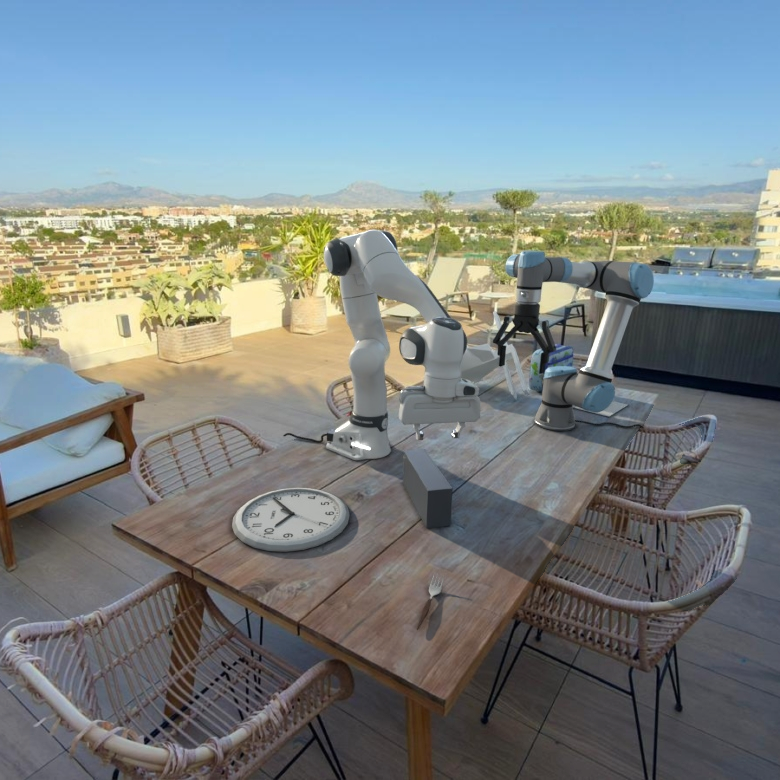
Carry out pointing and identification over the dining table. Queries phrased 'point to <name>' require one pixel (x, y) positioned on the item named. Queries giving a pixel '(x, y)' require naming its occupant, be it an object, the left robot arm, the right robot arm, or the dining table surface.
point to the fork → (433, 591)
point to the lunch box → (548, 364)
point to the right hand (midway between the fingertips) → (521, 369)
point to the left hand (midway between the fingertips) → (437, 438)
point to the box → (427, 488)
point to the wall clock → (290, 519)
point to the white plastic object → (490, 362)
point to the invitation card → (609, 409)
